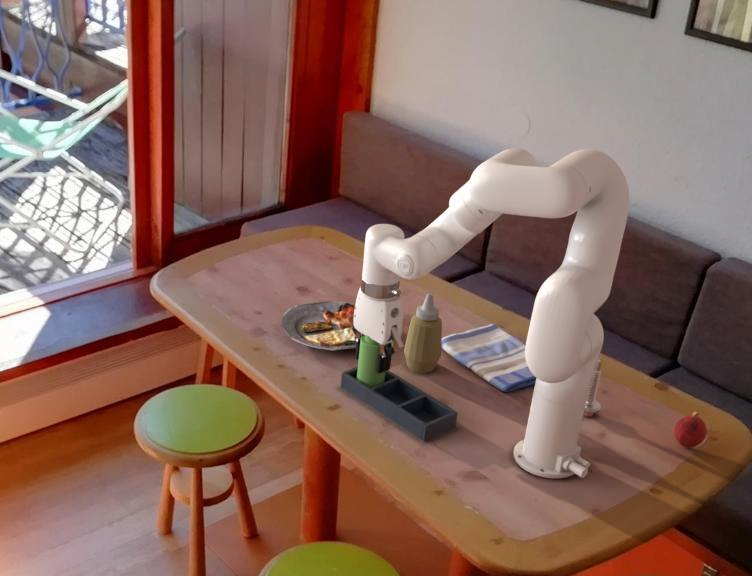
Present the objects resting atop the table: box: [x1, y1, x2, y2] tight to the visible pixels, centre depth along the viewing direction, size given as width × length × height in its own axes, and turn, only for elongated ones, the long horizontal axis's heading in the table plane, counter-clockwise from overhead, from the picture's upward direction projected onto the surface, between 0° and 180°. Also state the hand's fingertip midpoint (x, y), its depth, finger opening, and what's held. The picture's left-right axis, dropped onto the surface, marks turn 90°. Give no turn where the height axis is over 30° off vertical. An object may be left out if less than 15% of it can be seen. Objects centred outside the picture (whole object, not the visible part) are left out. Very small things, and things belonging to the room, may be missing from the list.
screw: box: [583, 358, 602, 418], centre depth 213 cm, size 13×5×5 cm
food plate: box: [280, 300, 357, 352], centre depth 244 cm, size 25×23×4 cm
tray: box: [340, 366, 459, 442], centre depth 216 cm, size 25×9×4 cm, turn 37°
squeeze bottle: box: [403, 292, 443, 374], centre depth 227 cm, size 8×8×18 cm
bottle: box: [357, 335, 388, 388], centre depth 217 cm, size 6×6×17 cm
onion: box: [673, 411, 707, 449], centre depth 205 cm, size 6×6×8 cm
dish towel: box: [441, 323, 536, 393], centre depth 234 cm, size 17×24×3 cm
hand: (372, 363), depth 219 cm, fingers closed on bottle, 5 cm apart
